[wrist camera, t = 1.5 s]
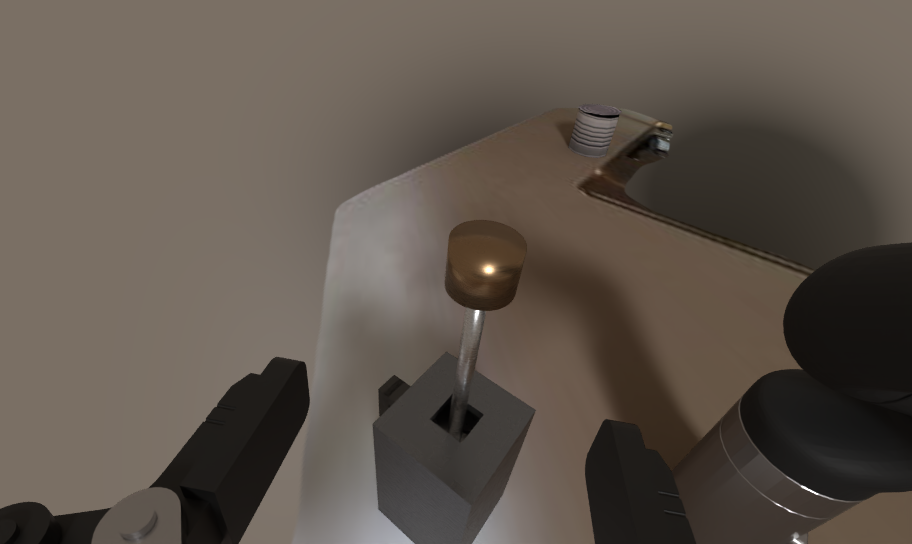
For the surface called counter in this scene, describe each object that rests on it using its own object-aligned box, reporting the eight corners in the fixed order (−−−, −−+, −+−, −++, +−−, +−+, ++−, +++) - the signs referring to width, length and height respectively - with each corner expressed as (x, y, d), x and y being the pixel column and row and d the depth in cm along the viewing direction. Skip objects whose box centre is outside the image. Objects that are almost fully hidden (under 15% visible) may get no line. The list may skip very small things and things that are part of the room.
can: (580, 158, 113) (593, 115, 106) (560, 142, 121) (571, 100, 114) (614, 157, 116) (630, 114, 109) (593, 141, 125) (606, 100, 117)
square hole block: (502, 494, 43) (535, 410, 32) (450, 577, 37) (471, 505, 26) (415, 426, 47) (420, 334, 37) (357, 489, 42) (344, 401, 31)
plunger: (507, 436, 34) (573, 240, 22) (461, 501, 30) (510, 305, 17) (445, 392, 37) (471, 195, 24) (395, 447, 33) (395, 242, 20)
